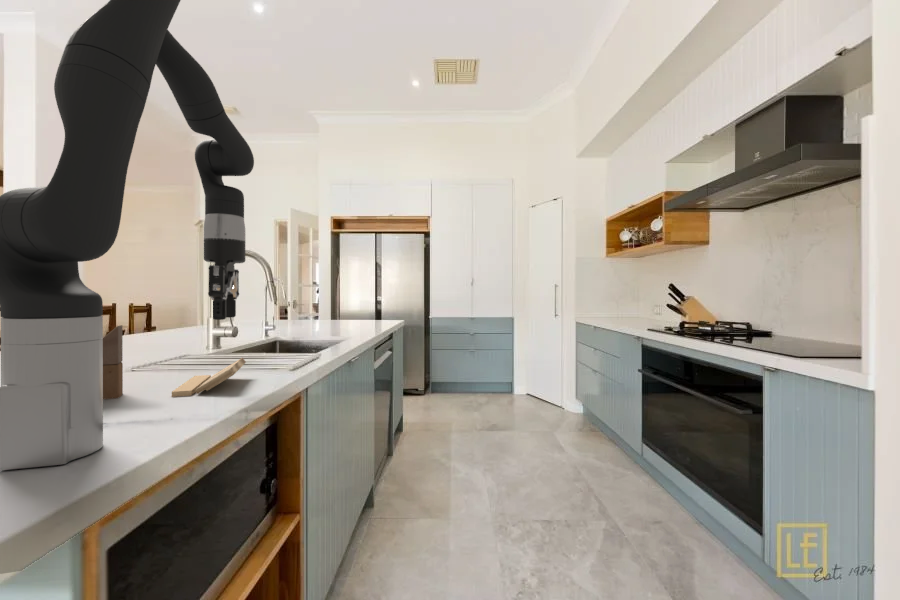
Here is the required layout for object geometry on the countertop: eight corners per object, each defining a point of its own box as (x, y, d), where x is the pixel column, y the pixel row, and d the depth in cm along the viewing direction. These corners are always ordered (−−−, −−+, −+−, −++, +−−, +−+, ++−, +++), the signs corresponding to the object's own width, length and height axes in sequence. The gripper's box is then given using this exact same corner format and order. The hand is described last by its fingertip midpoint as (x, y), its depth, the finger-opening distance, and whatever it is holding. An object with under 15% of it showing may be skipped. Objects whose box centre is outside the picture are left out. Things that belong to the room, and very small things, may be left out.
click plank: (233, 375, 81) (229, 369, 81) (198, 396, 80) (194, 390, 79) (246, 362, 97) (242, 357, 96) (217, 379, 95) (213, 374, 94)
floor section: (239, 397, 81) (239, 388, 81) (170, 401, 78) (170, 392, 78) (251, 380, 97) (251, 372, 97) (195, 383, 94) (195, 375, 94)
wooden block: (118, 402, 77) (118, 305, 77) (40, 410, 72) (39, 305, 72) (123, 398, 80) (122, 304, 80) (48, 405, 75) (48, 305, 75)
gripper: (237, 235, 79) (237, 320, 79) (251, 243, 93) (251, 316, 93) (193, 233, 77) (193, 320, 77) (213, 242, 91) (213, 316, 91)
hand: (224, 318), depth 85 cm, fingers open, 8 cm apart
